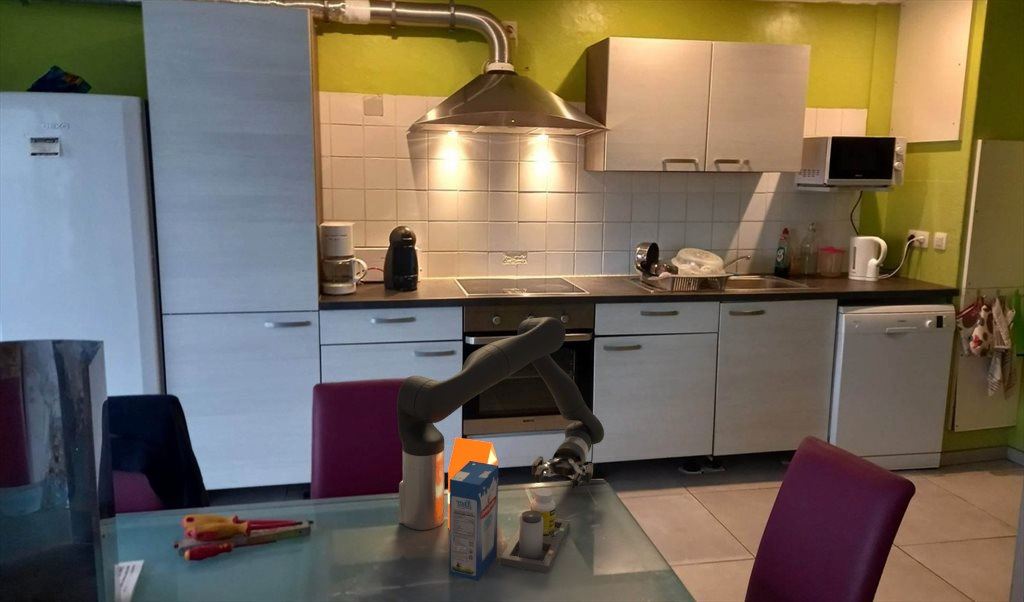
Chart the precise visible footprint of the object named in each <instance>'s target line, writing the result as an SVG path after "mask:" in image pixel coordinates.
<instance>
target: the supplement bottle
mask: <svg viewBox="0 0 1024 602" xmlns="http://www.w3.org/2000/svg"><path fill="white" fill-rule="evenodd" d="M533 494H534V498H533V499H532V500H531V502H530V511H537V512H539V513H540V514H541V516H542V517H543V536H547V537H553V536H554V534H555V528H554V526H555V518H556V502H555V501H554V500H553V497H554V492H553V490H551V489H550V488H545V487H539V488H537V489H535V491H534V493H533Z"/></svg>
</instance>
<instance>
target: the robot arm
mask: <svg viewBox="0 0 1024 602" xmlns="http://www.w3.org/2000/svg"><path fill="white" fill-rule="evenodd" d="M566 335H567V333H566V329H565V326H564V324H563V323H562V322H561V321H560V320H559V319H558V318H556V317H551V316H545V317H544V316H543V317H534V318H528V319H527V318H526V319H524V320H523V321H521V323H520V324H519V326H518V328H517V335H515V336H510V337H507V338H502V339H499V340H496V341H494V342H491V343H487V344H486V345H484V346H482V347H480V348H478V349H477V350H475V351H473V352H471V353H470V354H469V355H468V356H467V358H466V359H465V361H464V364H463V365H462V368H461V371H460V372H458V373H457V374H455V375H453V376H452V377H449V378H446V379H444V380H435V379H432V378H429V377H426V376H421V375H412V376H409V377H407V378H405V379H404V381H403V382H402V383H401V385H400V386H399V389H398V393H397V399H396V410H397V411H396V412H397V426H398V428H397V429H398V430H397V431H398V435H399V439H400V441H401V445H402V447H401V448H402V480H401V481H400V482H399V483H398V495H399V496H398V499H399V500H398V504H399V507H398V508H399V514H398V516H399V523H400V524H403V525H405V527H408V528H410V529H413V530H418V531H420V530H421V531H423V530H432V529H436V528H437V527H440V526H441V525H442V524H443V523H444V521H445V436H444V435H443V433H442V432H441V431H440V430H439V429H438V428H437V427H436V426H435V424H437V423H440V422H442V421H443V420H445V419H447V418H448V417H449V416H450V415H452V414H453V413H455V411H458V409H460V408H461V407H462V406H463V405H465V404H466V403H468V401H470V400H471V399H473V398H475V397H476V396H478V395H480V394H481V393H483V392H485V391H486V390H488V389H490V388H491V387H493V386H495V385H496V384H498V383H501V381H505V379H507V378H509V377H510V376H512V375H513V374H514V373H516V372H519V370H521V369H523V368H524V367H526V366H527V365H529V364H530V363H531V364H532V366H533V367H534V368H535V370H536V371H537V372H538V374H539V376H540V377H541V379H542V380H543V381H544V383H545V385H546V387H547V388H548V390H549V391H550V393H551V395H552V397H553V399H554V401H555V404H556V407H557V408H558V410H559V412H560V415H561V417H562V418H563V419H564V420H566V421H572V422H571V423H568V424H567V425H566V426H565V428H564V440H562V442H561V443H560V444H559V445H558V447H557V448H556V450H555V452H554V453H553V455H552V457H551V458H550V459H548V460H546V459H544V456H541V455H540V456H537V458H536V459H535V460H534V461H533V463H531V475H533V476H534V481H536V483H537V484H540V483H541V481H542V480H543V478H544V477H553V476H564V477H567V478H568V477H569V478H570V479H572V480H571V481H572V483H571V486H572V487H571V488H573V489H576V488H578V487H580V485H581V483H582V482H585V483H587V484H589V483H591V481H592V477H593V474H594V464H593V463H591V462H590V463H589V462H588V464H587V465H584V464H585V463H586V461H587V460H588V459H587V458H588V455H589V453H590V451H591V448H592V446H593V445H597V444H600V443H601V442H602V441H603V440H604V437H605V429H604V427H603V425H602V423H601V421H600V420H599V419H598V417H597V416H596V415H595V414H594V413H593V412H592V410H591V409H590V408H589V407H588V406H587V404H586V402H585V400H584V399H583V398H584V397H583V396H582V393H581V391H580V390H579V387H578V386H577V384H576V382H575V381H574V380H573V379H572V378H571V376H569V374H568V373H566V372H565V371H564V370H563V369H562V368H561V367H560V366H559V365H558V364H557V363H556V361H555V360H554V359H553V358H552V357H551V354H553V353H555V352H557V351H559V349H560V348H561V347H562V346H563V345H564V342H565V339H566ZM573 421H574V422H573Z"/></svg>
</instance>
